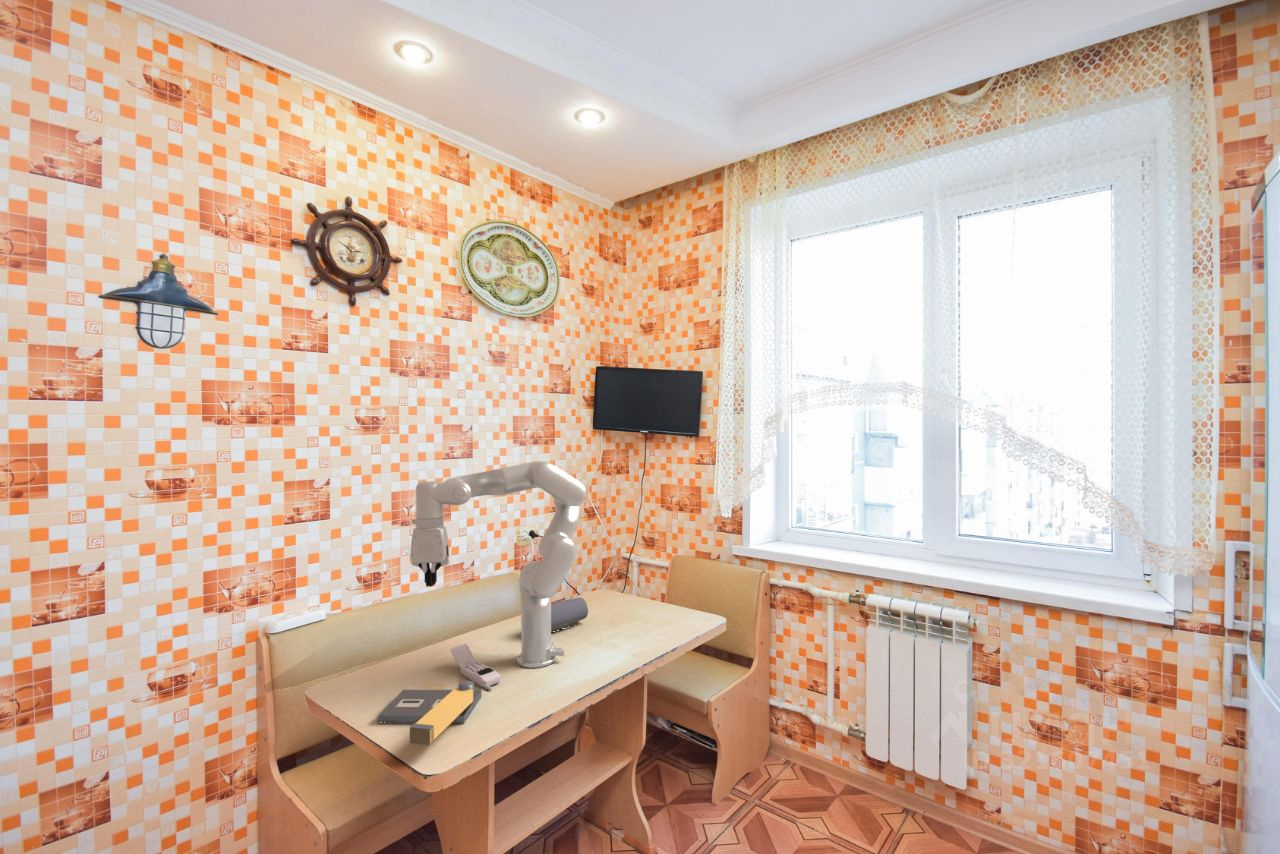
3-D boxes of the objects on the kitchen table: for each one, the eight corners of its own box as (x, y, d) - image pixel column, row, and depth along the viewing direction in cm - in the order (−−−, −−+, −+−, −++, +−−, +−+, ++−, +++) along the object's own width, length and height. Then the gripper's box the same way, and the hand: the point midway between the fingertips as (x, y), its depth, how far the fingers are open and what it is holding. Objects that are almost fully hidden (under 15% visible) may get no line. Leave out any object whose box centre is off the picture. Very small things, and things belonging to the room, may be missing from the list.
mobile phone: (465, 642, 177) (505, 665, 159) (466, 661, 177) (506, 685, 159) (447, 648, 173) (486, 672, 155) (448, 667, 173) (487, 693, 155)
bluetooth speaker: (573, 619, 216) (573, 593, 216) (589, 624, 209) (589, 598, 210) (525, 634, 200) (525, 607, 200) (540, 641, 193) (540, 612, 193)
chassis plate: (481, 697, 152) (481, 688, 152) (463, 723, 138) (463, 714, 138) (403, 696, 152) (403, 688, 152) (378, 723, 138) (378, 714, 138)
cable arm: (461, 699, 146) (461, 680, 146) (478, 700, 145) (478, 681, 145) (409, 747, 124) (409, 725, 124) (429, 749, 123) (429, 727, 123)
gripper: (399, 525, 158) (399, 589, 158) (450, 525, 158) (451, 588, 158) (410, 521, 165) (411, 582, 165) (459, 520, 165) (460, 581, 165)
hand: (430, 585), depth 161 cm, fingers closed
